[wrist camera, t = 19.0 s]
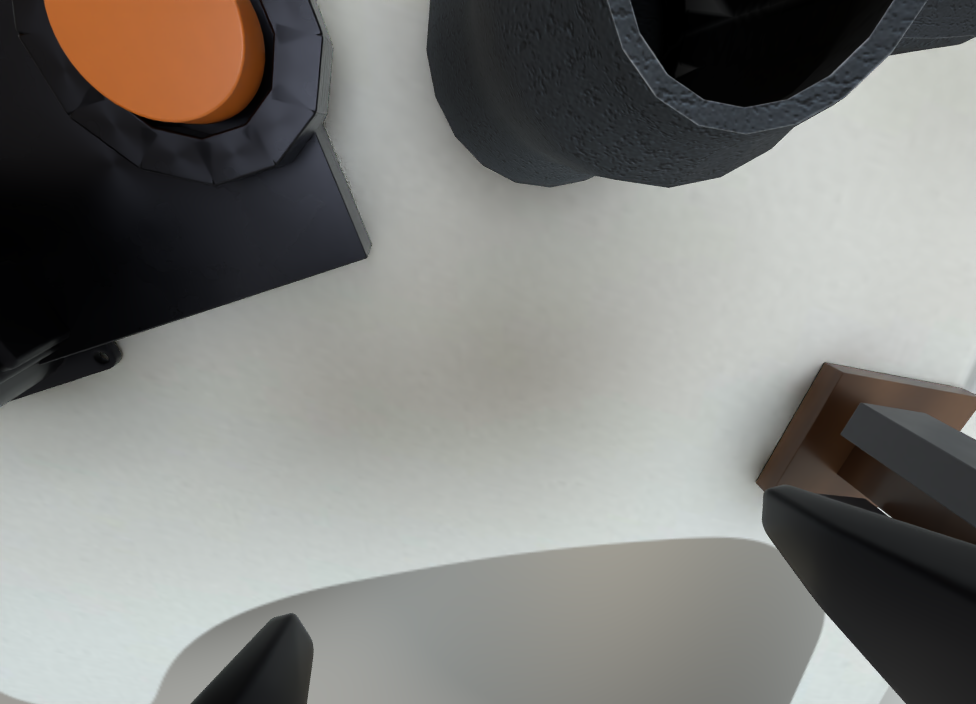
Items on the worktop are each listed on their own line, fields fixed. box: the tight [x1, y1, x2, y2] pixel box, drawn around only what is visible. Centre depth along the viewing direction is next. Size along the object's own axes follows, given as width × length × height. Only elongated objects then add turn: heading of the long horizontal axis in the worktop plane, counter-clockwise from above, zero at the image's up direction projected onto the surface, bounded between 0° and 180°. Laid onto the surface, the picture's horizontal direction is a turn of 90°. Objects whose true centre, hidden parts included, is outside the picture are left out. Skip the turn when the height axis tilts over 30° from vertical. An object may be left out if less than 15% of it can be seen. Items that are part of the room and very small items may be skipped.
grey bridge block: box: [816, 403, 976, 528], centre depth 19 cm, size 4×7×9 cm, turn 166°
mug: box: [427, 0, 976, 188], centre depth 11 cm, size 12×9×11 cm
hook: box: [756, 363, 976, 545], centre depth 21 cm, size 12×8×12 cm
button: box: [44, 0, 265, 124], centre depth 11 cm, size 4×4×2 cm
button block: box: [0, 0, 372, 365], centre depth 14 cm, size 14×10×4 cm
